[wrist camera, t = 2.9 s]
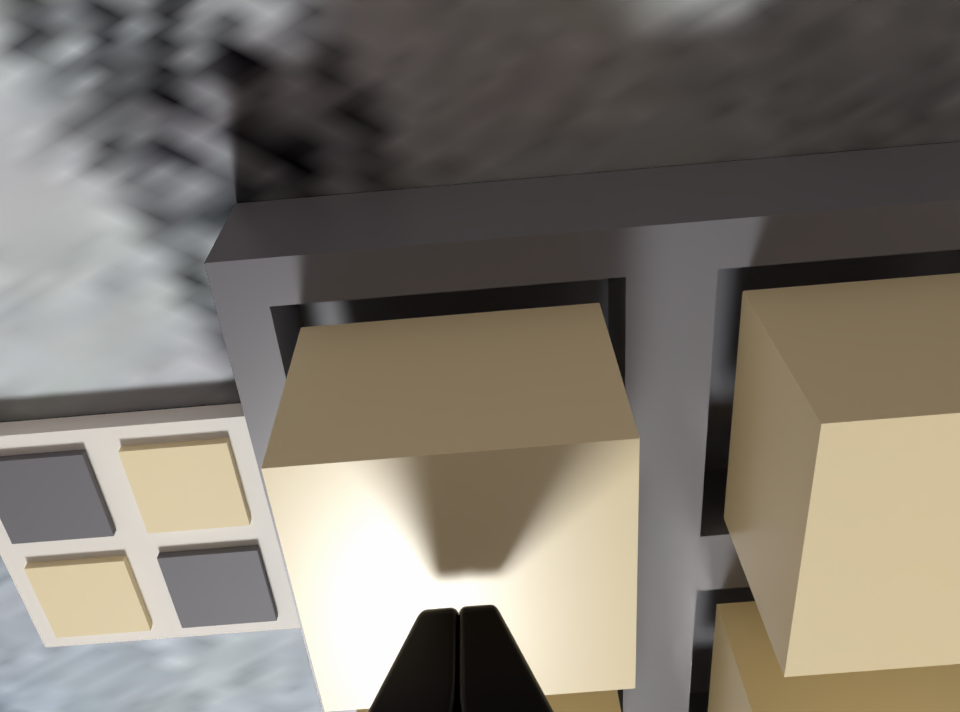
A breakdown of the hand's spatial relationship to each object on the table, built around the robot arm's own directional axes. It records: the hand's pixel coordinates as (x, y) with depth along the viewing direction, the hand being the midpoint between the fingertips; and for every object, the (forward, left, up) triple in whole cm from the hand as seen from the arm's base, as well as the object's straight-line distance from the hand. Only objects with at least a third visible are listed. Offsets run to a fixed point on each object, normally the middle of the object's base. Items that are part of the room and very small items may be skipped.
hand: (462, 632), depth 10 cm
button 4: (0, 0, -4) cm, 4 cm away
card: (-6, -3, -6) cm, 9 cm away
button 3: (+6, 0, -4) cm, 7 cm away
